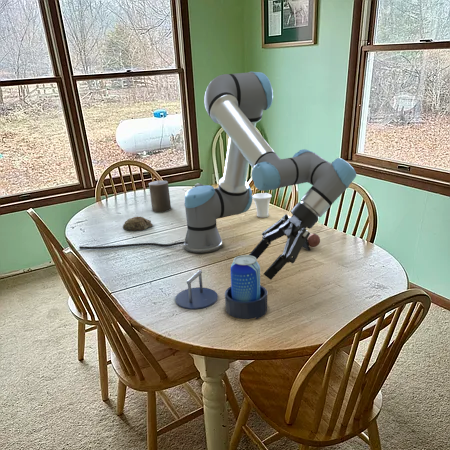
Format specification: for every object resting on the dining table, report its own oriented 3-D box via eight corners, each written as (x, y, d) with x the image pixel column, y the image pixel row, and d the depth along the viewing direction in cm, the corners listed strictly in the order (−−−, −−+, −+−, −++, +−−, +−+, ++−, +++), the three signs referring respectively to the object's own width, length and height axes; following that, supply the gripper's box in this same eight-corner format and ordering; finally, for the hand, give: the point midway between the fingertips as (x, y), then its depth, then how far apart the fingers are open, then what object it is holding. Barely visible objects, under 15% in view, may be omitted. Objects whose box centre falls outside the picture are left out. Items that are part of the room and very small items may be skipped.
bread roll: (119, 230, 201) (117, 219, 199) (133, 221, 211) (132, 211, 209) (144, 232, 197) (142, 221, 194) (157, 223, 207) (156, 213, 204)
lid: (167, 306, 136) (164, 281, 132) (188, 287, 147) (186, 263, 143) (205, 314, 131) (203, 288, 127) (224, 294, 142) (223, 269, 137)
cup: (275, 214, 210) (275, 193, 205) (266, 219, 203) (265, 198, 198) (258, 211, 214) (258, 191, 209) (249, 217, 208) (248, 196, 203)
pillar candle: (169, 212, 221) (166, 182, 214) (150, 212, 222) (146, 183, 214) (172, 206, 230) (169, 177, 223) (153, 207, 230) (149, 178, 223)
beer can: (228, 313, 130) (225, 263, 123) (238, 300, 137) (236, 252, 129) (255, 317, 127) (254, 267, 120) (264, 304, 134) (263, 255, 126)
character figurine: (301, 238, 181) (321, 251, 169) (286, 240, 179) (304, 253, 166) (303, 220, 178) (323, 232, 165) (287, 222, 175) (307, 234, 163)
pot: (218, 316, 130) (217, 298, 127) (236, 297, 140) (235, 280, 137) (258, 323, 125) (258, 305, 122) (273, 303, 135) (273, 286, 132)
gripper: (339, 232, 114) (283, 293, 118) (299, 205, 135) (254, 258, 139) (321, 214, 110) (264, 278, 114) (283, 190, 131) (237, 245, 136)
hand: (259, 267), depth 127 cm, fingers open, 13 cm apart
